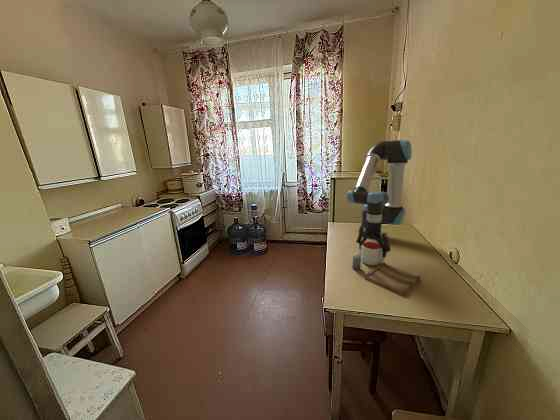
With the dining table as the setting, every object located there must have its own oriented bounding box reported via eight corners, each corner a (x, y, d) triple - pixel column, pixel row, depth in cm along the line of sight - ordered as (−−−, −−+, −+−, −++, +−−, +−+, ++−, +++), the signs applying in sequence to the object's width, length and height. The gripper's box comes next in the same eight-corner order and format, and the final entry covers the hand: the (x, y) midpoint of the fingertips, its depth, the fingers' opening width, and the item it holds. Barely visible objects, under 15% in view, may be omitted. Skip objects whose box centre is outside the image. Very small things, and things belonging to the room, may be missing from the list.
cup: (358, 262, 125) (359, 246, 123) (365, 255, 132) (366, 240, 130) (376, 268, 119) (377, 251, 116) (383, 261, 126) (384, 244, 123)
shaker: (355, 265, 122) (356, 250, 120) (361, 268, 119) (362, 253, 117) (350, 268, 120) (351, 253, 117) (357, 271, 117) (358, 255, 114)
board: (383, 265, 121) (383, 262, 120) (420, 279, 107) (420, 276, 107) (364, 278, 110) (364, 274, 110) (402, 295, 97) (403, 291, 96)
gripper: (350, 218, 126) (349, 254, 131) (392, 227, 108) (389, 268, 113) (358, 215, 130) (356, 250, 136) (400, 224, 112) (396, 263, 118)
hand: (371, 258), depth 124 cm, fingers open, 11 cm apart
